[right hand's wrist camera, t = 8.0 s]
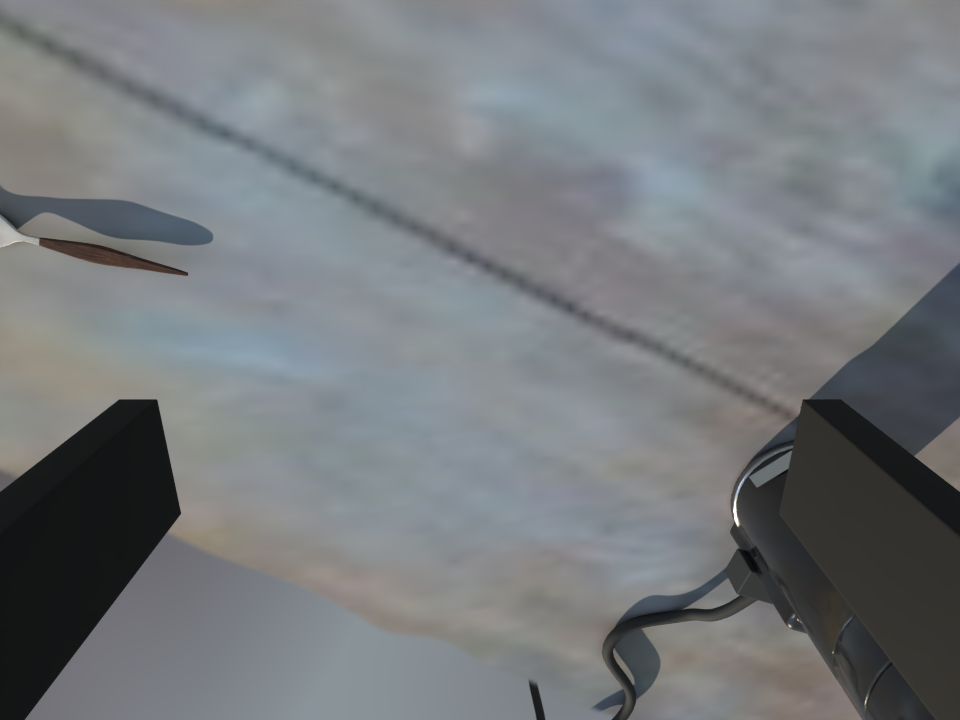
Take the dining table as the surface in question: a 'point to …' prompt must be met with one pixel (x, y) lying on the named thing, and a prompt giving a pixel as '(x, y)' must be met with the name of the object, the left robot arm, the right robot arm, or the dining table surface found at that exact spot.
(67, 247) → the fork
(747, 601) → the left robot arm
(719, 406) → the dining table surface
